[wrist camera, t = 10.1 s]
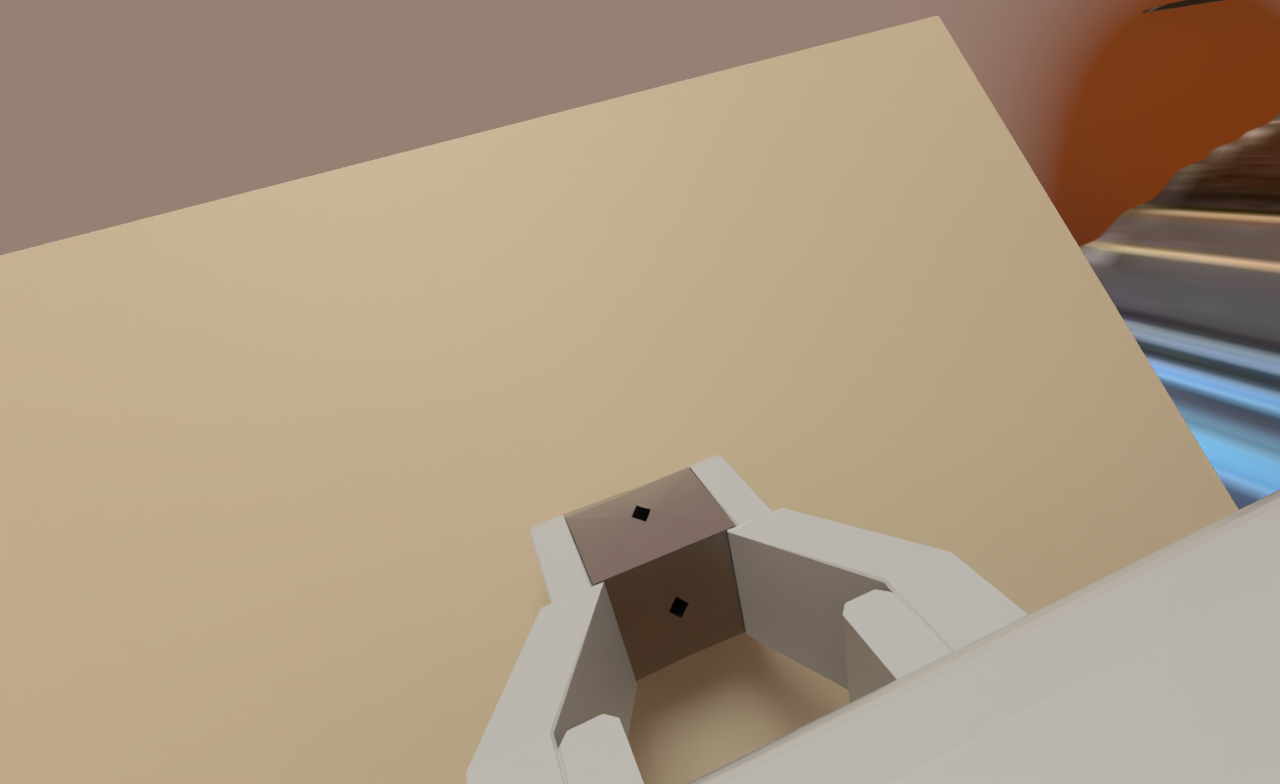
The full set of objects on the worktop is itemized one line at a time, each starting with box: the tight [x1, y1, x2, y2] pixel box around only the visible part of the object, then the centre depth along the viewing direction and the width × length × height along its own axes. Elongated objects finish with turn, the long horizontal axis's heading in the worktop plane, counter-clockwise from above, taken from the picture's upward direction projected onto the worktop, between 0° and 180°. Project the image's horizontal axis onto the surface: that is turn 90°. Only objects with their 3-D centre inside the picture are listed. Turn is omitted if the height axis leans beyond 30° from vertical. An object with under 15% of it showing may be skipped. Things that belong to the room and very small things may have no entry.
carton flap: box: [0, 16, 1238, 784], centre depth 10 cm, size 15×20×1 cm
